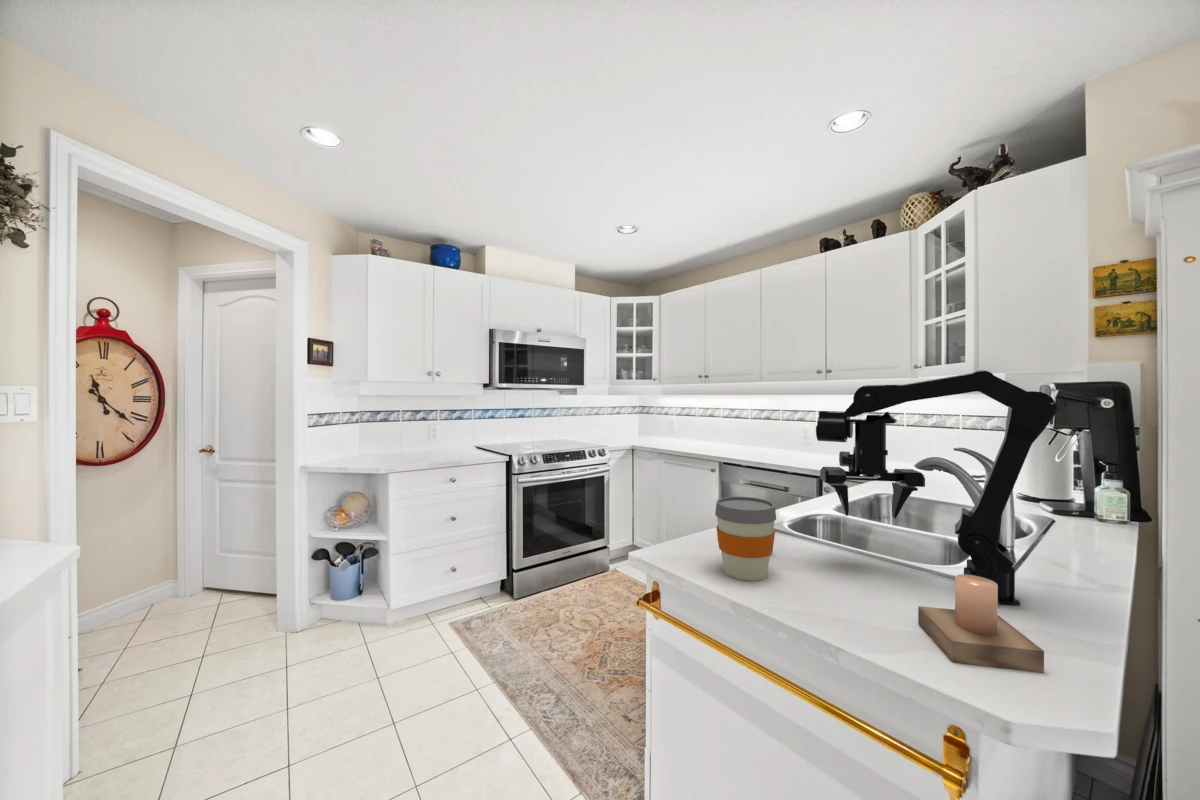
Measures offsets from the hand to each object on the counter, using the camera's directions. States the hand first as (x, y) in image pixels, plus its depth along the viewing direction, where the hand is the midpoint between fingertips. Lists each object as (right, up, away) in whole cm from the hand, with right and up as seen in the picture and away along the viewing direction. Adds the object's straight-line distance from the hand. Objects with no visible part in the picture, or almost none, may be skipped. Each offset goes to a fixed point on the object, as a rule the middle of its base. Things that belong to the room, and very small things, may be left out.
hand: (870, 516), depth 98 cm
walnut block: (-1, -13, -28) cm, 31 cm away
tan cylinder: (-1, -10, -28) cm, 30 cm away
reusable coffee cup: (-27, -12, +1) cm, 29 cm away
